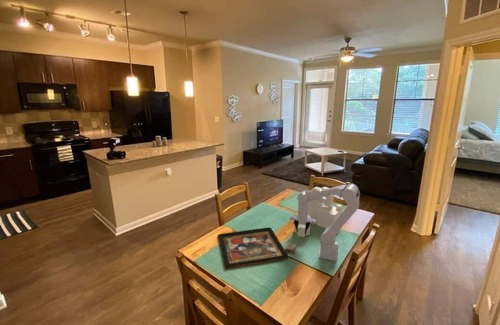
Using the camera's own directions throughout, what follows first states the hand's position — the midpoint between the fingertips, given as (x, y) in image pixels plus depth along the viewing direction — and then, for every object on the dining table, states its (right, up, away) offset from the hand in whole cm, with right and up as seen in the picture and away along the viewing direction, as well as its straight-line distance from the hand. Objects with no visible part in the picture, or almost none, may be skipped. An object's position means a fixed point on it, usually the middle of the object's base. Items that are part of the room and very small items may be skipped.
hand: (301, 232), depth 143 cm
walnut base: (-7, -10, -1) cm, 12 cm away
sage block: (0, -1, 0) cm, 1 cm away
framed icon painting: (-30, -9, +1) cm, 31 cm away
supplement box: (+4, -5, +16) cm, 17 cm away
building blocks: (+20, -1, +29) cm, 35 cm away
